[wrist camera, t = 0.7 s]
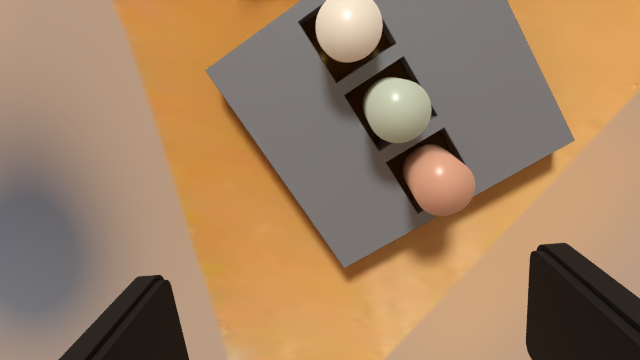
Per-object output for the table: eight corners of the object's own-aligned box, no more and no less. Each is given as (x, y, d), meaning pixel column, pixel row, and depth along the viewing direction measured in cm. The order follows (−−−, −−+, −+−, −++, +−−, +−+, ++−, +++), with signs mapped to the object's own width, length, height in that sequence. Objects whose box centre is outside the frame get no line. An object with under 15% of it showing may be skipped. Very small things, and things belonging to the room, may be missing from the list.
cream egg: (355, -9, 27) (359, -25, 22) (385, 41, 28) (395, 37, 23) (308, 25, 28) (302, 16, 23) (338, 73, 28) (338, 75, 24)
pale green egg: (398, 66, 28) (411, 66, 23) (425, 112, 29) (442, 121, 24) (352, 96, 29) (355, 102, 24) (379, 140, 30) (387, 154, 25)
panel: (440, -93, 27) (452, -112, 24) (552, 133, 31) (574, 140, 28) (217, 69, 31) (205, 70, 28) (343, 251, 35) (344, 268, 32)
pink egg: (438, 134, 29) (457, 147, 25) (462, 176, 30) (485, 197, 26) (392, 161, 30) (403, 179, 25) (417, 201, 31) (432, 226, 26)
